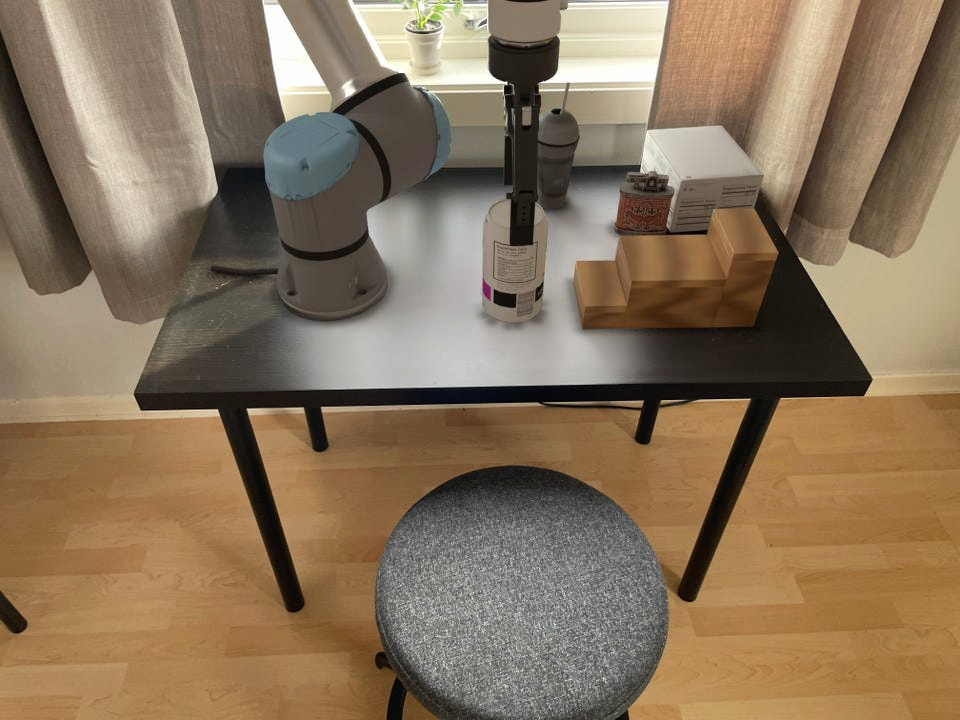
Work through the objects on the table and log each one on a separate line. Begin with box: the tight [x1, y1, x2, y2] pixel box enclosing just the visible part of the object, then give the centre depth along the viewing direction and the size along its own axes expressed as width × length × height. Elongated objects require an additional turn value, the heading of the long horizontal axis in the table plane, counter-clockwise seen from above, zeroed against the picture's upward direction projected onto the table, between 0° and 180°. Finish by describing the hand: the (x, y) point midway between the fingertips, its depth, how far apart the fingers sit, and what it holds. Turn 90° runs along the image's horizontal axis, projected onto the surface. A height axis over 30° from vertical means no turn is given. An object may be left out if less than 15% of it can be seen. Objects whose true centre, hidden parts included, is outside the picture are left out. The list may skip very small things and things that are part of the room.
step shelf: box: [572, 208, 779, 330], centre depth 98 cm, size 23×10×12 cm, turn 92°
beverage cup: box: [536, 82, 581, 210], centre depth 114 cm, size 7×7×20 cm
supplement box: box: [639, 124, 765, 233], centre depth 118 cm, size 17×13×9 cm
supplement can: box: [481, 198, 549, 324], centre depth 96 cm, size 8×8×15 cm
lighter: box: [613, 171, 675, 236], centre depth 111 cm, size 8×3×10 cm, turn 84°
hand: (517, 212), depth 91 cm, fingers open, 13 cm apart
